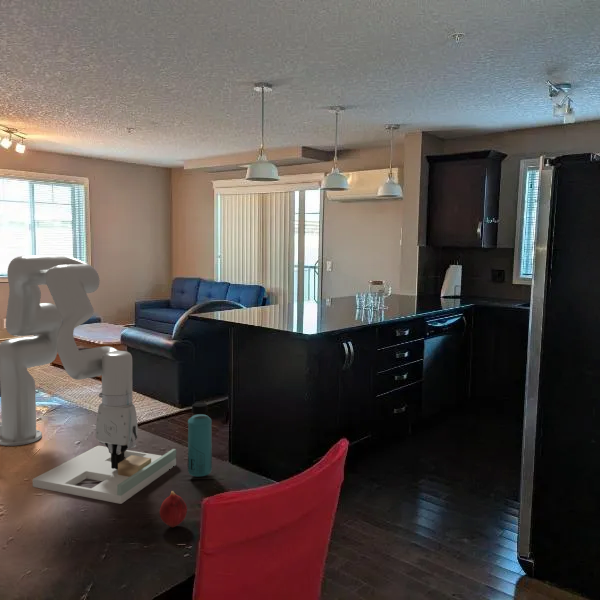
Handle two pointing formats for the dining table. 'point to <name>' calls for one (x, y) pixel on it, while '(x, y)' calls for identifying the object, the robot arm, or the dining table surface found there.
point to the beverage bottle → (199, 441)
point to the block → (132, 465)
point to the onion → (173, 510)
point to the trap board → (104, 475)
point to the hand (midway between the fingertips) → (117, 466)
